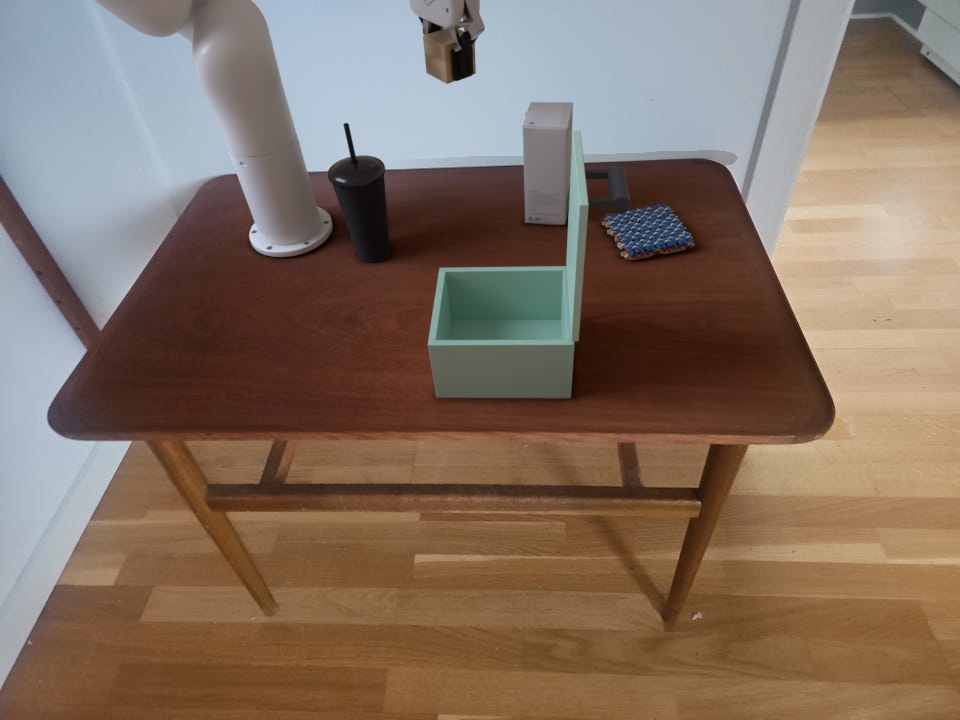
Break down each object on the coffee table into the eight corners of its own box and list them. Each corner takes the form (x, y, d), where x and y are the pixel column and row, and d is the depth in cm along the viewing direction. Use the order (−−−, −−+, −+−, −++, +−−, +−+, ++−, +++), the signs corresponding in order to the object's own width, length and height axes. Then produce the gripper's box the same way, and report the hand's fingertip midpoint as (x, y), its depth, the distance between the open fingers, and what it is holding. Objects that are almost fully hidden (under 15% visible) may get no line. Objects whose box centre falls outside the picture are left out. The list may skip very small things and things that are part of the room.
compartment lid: (579, 205, 55) (638, 203, 55) (572, 130, 64) (623, 129, 64) (570, 341, 67) (619, 341, 67) (566, 262, 76) (608, 262, 76)
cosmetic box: (564, 227, 97) (569, 129, 86) (521, 224, 98) (520, 127, 87) (570, 196, 103) (575, 100, 91) (529, 194, 104) (529, 99, 92)
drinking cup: (386, 273, 92) (358, 142, 77) (339, 263, 94) (304, 135, 80) (408, 242, 97) (386, 113, 82) (363, 233, 99) (334, 107, 84)
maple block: (426, 73, 90) (422, 35, 87) (454, 63, 92) (452, 26, 89) (447, 84, 88) (444, 45, 84) (476, 73, 90) (474, 35, 86)
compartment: (436, 398, 75) (427, 345, 69) (446, 320, 84) (439, 267, 78) (570, 398, 74) (574, 344, 68) (566, 319, 83) (569, 265, 77)
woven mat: (665, 210, 98) (667, 199, 97) (696, 251, 91) (698, 239, 90) (599, 222, 97) (600, 211, 96) (626, 265, 90) (627, 253, 88)
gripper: (375, -90, 80) (395, 61, 93) (456, -64, 70) (466, 99, 84) (425, -100, 83) (437, 47, 96) (509, -78, 73) (510, 82, 87)
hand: (450, 70), depth 90 cm, fingers closed on maple block, 5 cm apart
